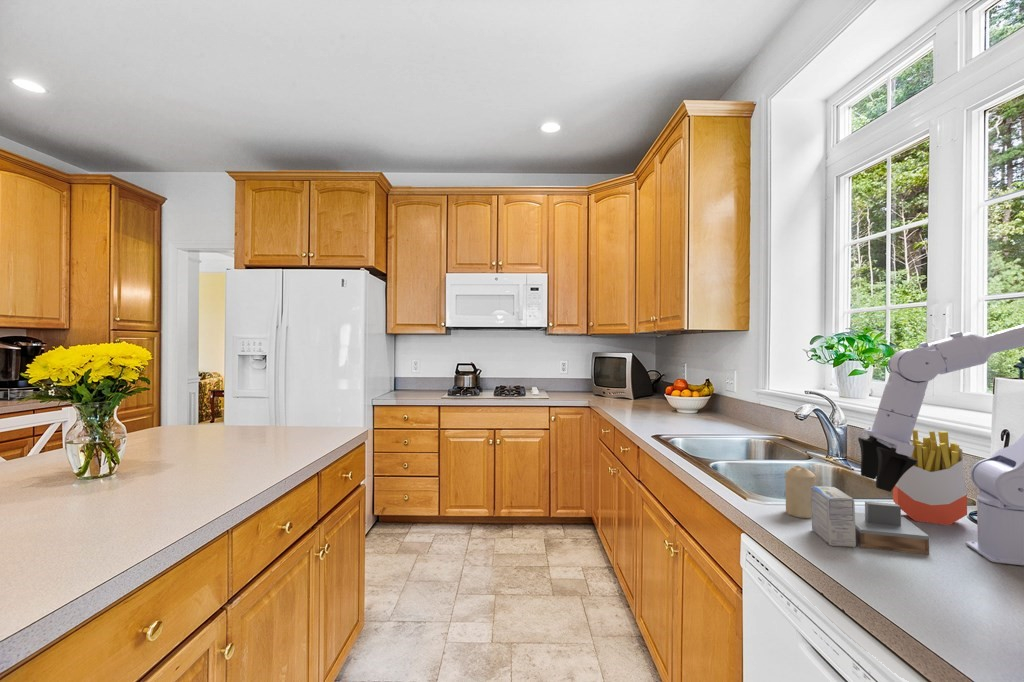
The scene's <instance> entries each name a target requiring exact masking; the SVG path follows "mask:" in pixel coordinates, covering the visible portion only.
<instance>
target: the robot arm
mask: <svg viewBox="0 0 1024 682" xmlns="http://www.w3.org/2000/svg"><path fill="white" fill-rule="evenodd" d="M1023 347H1024V324H1020V325H1016V326H1014V327H1010V328H1007V329H1003V330H1000V331H997V332H993V333H990V334H988V335H987V334H986V335H984V336H981V335H978V334H975V333H972V332H965V333H963V332H962V331H957V332H952V333H950V334H949V337H948V338H944V339H941V340H937V341H934V342H929V343H928V342H927V341H923V342H919V343H918V347H914V348H906V349H905V348H904V349H901V350H898V351H896V352H895V353H894V354H893V355H892V356H891V358H890V359H888V360H887V368H888V370H889V372H890V373H889V375H888V379H887V382H886V383H885V387H884V389H883V392H882V395H881V399H880V401H879V404H878V405H879V406H878V408H877V412H876V415H875V418H874V422H873V424H872V427H871V426H869V428H868V429H867V428H863V430H862V432H863V433H865V434H866V437H867V438H864V437H861V436H860V437H858V439H857V440H858V444H859V448H860V455H861V456H860V457H861V458H860V476H861V477H865V478H868V479H871V480H875V479H876V480H875V487H876V489H880V490H883V491H886V492H893V488H894V487H895V485H896V484H897V482H898V481H899V479H900V478H901V477H902V476H903V474H904V473H905V472H906V471H907V470H908V469H910V468H911V467H912V466H914V465H915V464H916V463H917V461H918V460H916V459H914V458H912V457H911V456H912V453H913V450H914V446H913V443H912V441H911V442H910V439H911V440H912V437H913V430H915V426H916V424H917V420H918V416H919V413H920V411H921V407H922V404H923V403H924V402H923V401H924V399H925V395H926V390H927V388H928V384H929V382H931V381H932V380H934V379H935V378H936V377H937V376H938V375H945V374H948V373H953V372H956V371H961V370H964V369H968V368H971V367H976V366H981V365H984V364H986V363H987V362H988V360H989V358H990V357H991V356H992V355H993V354H997V353H1000V352H1005V351H1009V350H1014V349H1018V348H1023ZM908 456H909V457H908ZM970 479H971V482H972V483H973V484H974V486H976V488H977V489H978V490H979V492H978V494H977V495H976V510H977V511H976V514H977V515H976V516H977V518H976V521H977V541H965V545H967V546H968V547H969V548H971V549H972V550H974V551H975V552H977V553H978V554H980V555H981V556H983V557H984V558H985V559H987V560H988V561H990V562H992V563H997V564H1007V565H1015V566H1016V565H1018V566H1024V433H1023V435H1021V436H1020V437H1019V438H1018V439H1017V440H1016V441H1015V443H1013V444H1010V445H1009V446H1005V447H1003V448H1001V449H999V450H997V451H995V453H993V454H992V455H991V456H989V457H987V458H984V459H981V460H979V461H977V462H976V463H974V464H973V466H972V467H971V469H970Z"/></svg>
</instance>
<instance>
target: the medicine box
mask: <svg viewBox="0 0 1024 682" xmlns="http://www.w3.org/2000/svg"><path fill="white" fill-rule="evenodd" d="M855 505H856V504H855V499H854V498H853V497H851V496H850V495H848V494H846V493H845V492H843V491H842V490H840V489H839V488H836V487H835V486H825V485H824V486H819V485H818V486H817V485H815V487H811V509H812V518H811V530H812V531H813V532H814V533H816V534H817V535H818V536H819V537H820V538H821V539H822V540H823V541H824V542H826V543H827V544H828V545H829V546H833V547H846V548H855V547H857V543H856V535H855V513H856V511H855V510H856V509H855V508H856V507H855Z"/></svg>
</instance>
